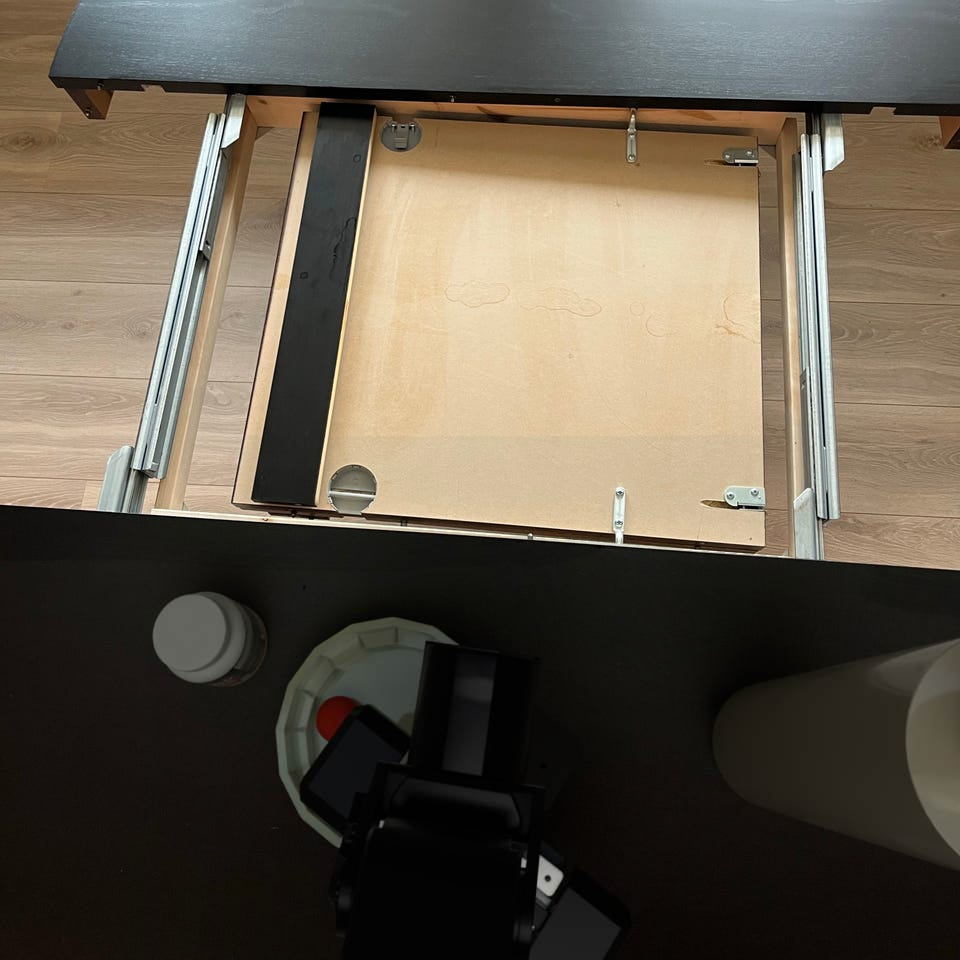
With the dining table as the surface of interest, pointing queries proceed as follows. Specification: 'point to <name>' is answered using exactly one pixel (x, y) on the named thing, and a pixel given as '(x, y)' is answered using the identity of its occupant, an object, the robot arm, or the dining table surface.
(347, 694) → the bowl
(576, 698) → the dining table surface
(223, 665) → the pill bottle
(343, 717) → the ball
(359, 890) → the robot arm
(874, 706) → the vase
